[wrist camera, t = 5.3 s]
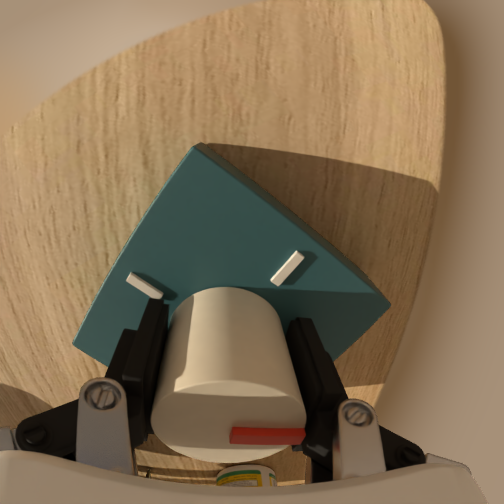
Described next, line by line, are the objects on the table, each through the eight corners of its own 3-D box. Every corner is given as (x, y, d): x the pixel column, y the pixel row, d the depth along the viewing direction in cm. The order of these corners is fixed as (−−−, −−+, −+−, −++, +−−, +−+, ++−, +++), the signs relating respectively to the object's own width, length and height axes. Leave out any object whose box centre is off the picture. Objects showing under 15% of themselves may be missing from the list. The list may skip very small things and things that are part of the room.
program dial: (166, 366, 12) (151, 462, 8) (173, 277, 10) (146, 378, 6) (266, 378, 13) (283, 471, 8) (294, 294, 11) (333, 393, 7)
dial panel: (91, 309, 14) (69, 347, 11) (200, 141, 11) (192, 145, 9) (242, 391, 17) (246, 433, 14) (365, 274, 15) (394, 307, 12)
